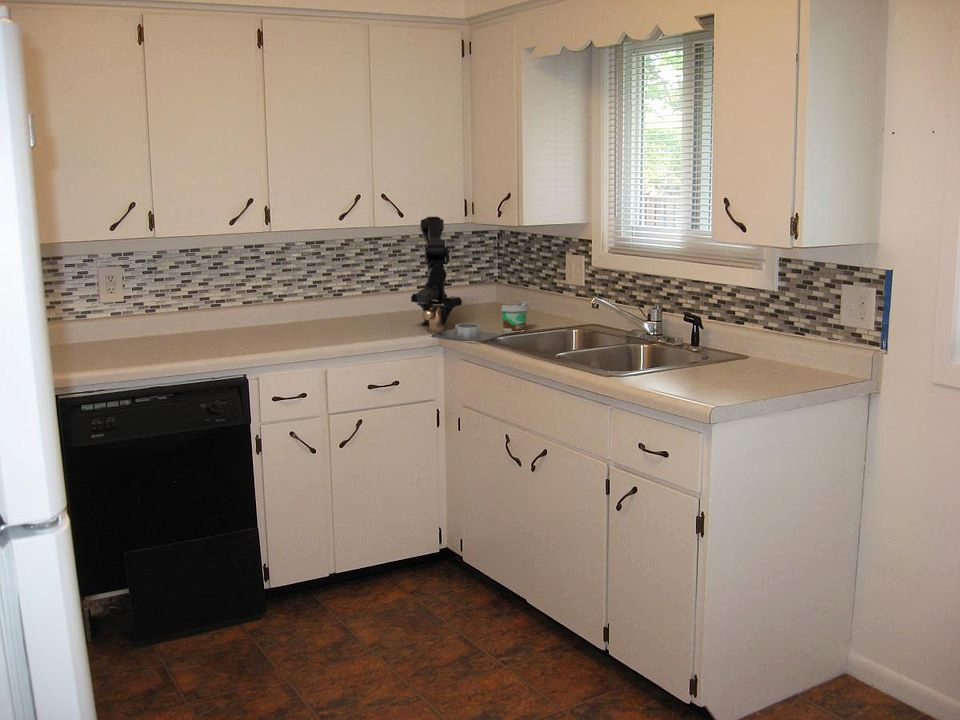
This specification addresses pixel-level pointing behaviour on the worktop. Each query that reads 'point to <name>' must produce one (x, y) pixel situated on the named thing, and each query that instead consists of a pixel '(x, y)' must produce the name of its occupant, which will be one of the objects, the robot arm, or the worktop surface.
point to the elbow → (434, 319)
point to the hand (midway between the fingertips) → (436, 323)
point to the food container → (514, 316)
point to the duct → (466, 333)
